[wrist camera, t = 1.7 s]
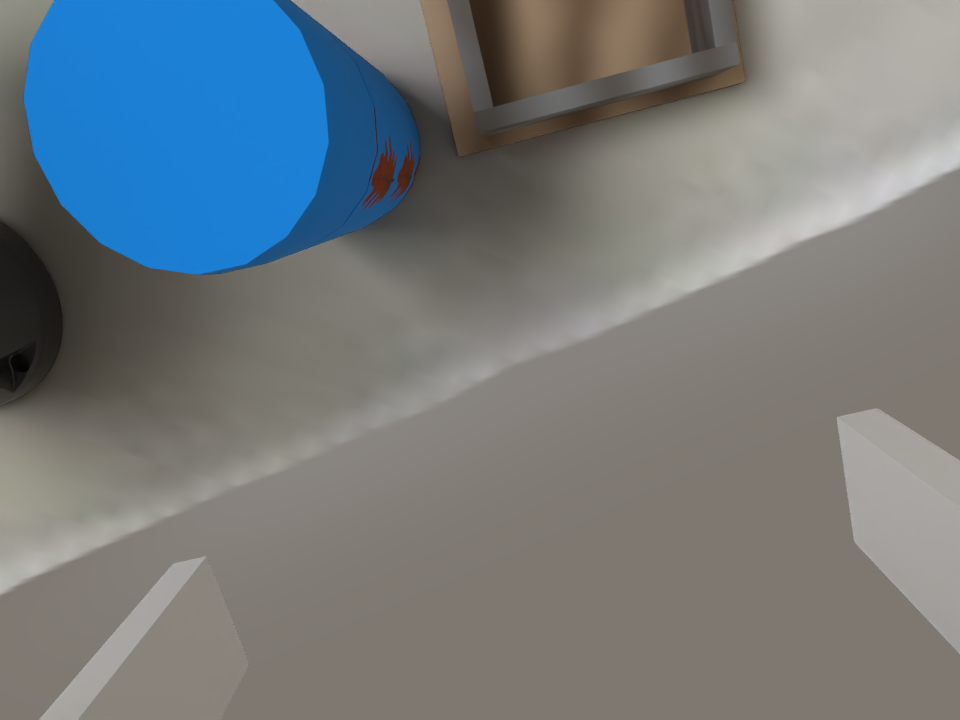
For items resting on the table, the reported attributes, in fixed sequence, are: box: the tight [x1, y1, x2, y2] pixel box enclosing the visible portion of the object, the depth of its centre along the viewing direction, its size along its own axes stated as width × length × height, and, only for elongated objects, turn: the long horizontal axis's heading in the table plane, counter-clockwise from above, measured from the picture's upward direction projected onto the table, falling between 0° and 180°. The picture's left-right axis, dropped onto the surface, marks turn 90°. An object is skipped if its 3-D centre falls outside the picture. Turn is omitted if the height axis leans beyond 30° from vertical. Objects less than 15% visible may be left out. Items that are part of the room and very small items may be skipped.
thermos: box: [23, 0, 420, 275], centre depth 36 cm, size 11×11×25 cm
